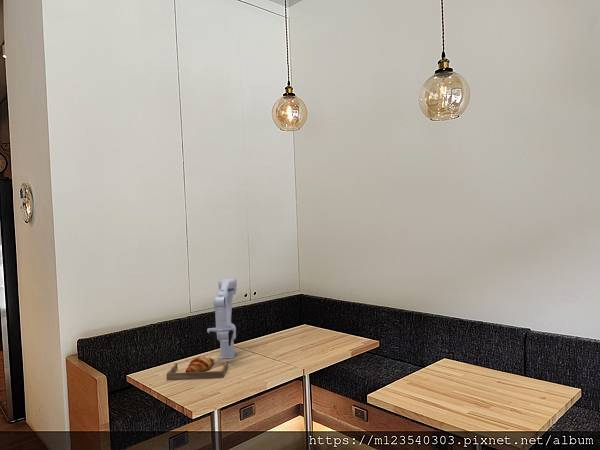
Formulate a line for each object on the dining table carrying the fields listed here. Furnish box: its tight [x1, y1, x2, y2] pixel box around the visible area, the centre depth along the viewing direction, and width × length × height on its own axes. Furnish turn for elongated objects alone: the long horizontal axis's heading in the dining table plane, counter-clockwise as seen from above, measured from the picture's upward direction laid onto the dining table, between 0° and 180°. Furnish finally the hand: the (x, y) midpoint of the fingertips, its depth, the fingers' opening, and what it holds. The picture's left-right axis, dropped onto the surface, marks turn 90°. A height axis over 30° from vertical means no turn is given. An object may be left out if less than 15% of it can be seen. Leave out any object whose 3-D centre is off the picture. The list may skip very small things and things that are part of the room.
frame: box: [166, 360, 229, 381], centre depth 219 cm, size 16×27×3 cm, turn 90°
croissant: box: [184, 356, 215, 373], centre depth 226 cm, size 21×10×8 cm, turn 154°
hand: (222, 345), depth 232 cm, fingers open, 7 cm apart
